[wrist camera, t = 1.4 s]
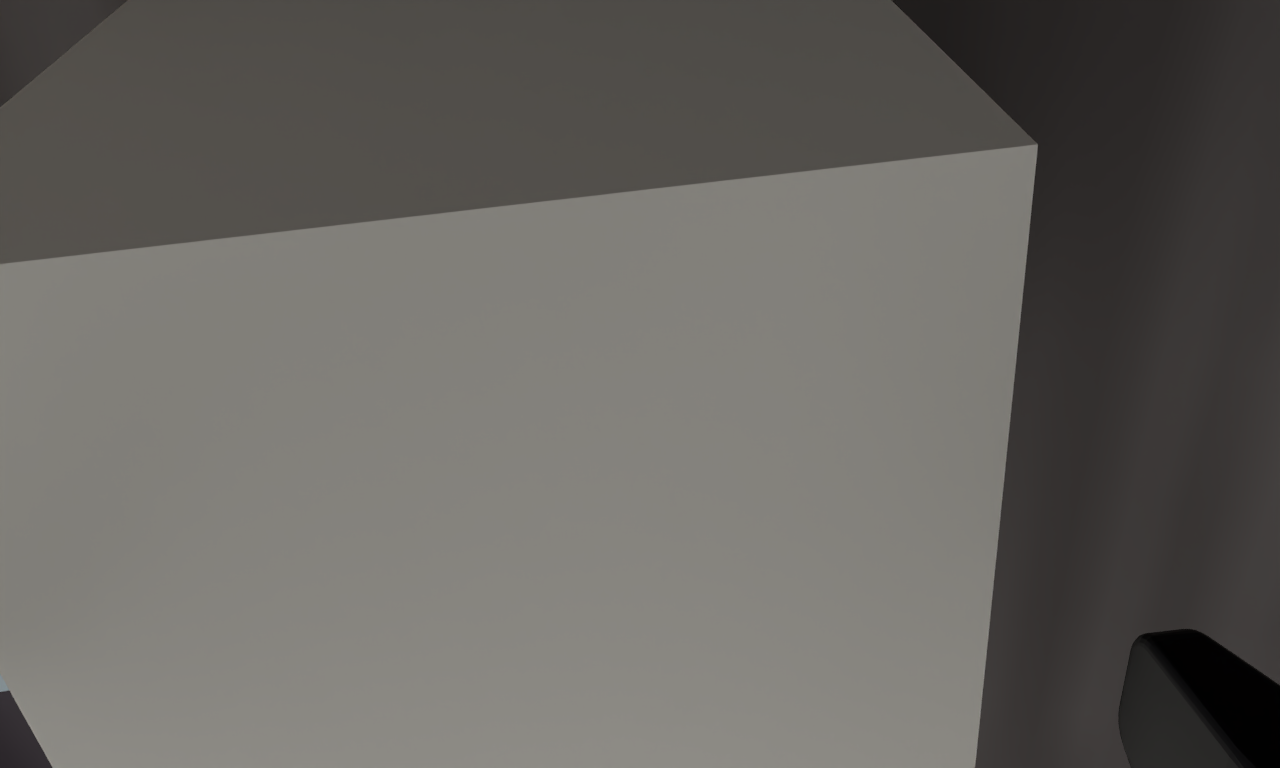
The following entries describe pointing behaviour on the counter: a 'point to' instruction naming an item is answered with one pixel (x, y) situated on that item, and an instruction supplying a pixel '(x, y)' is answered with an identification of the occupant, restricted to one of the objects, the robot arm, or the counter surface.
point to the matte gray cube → (505, 386)
